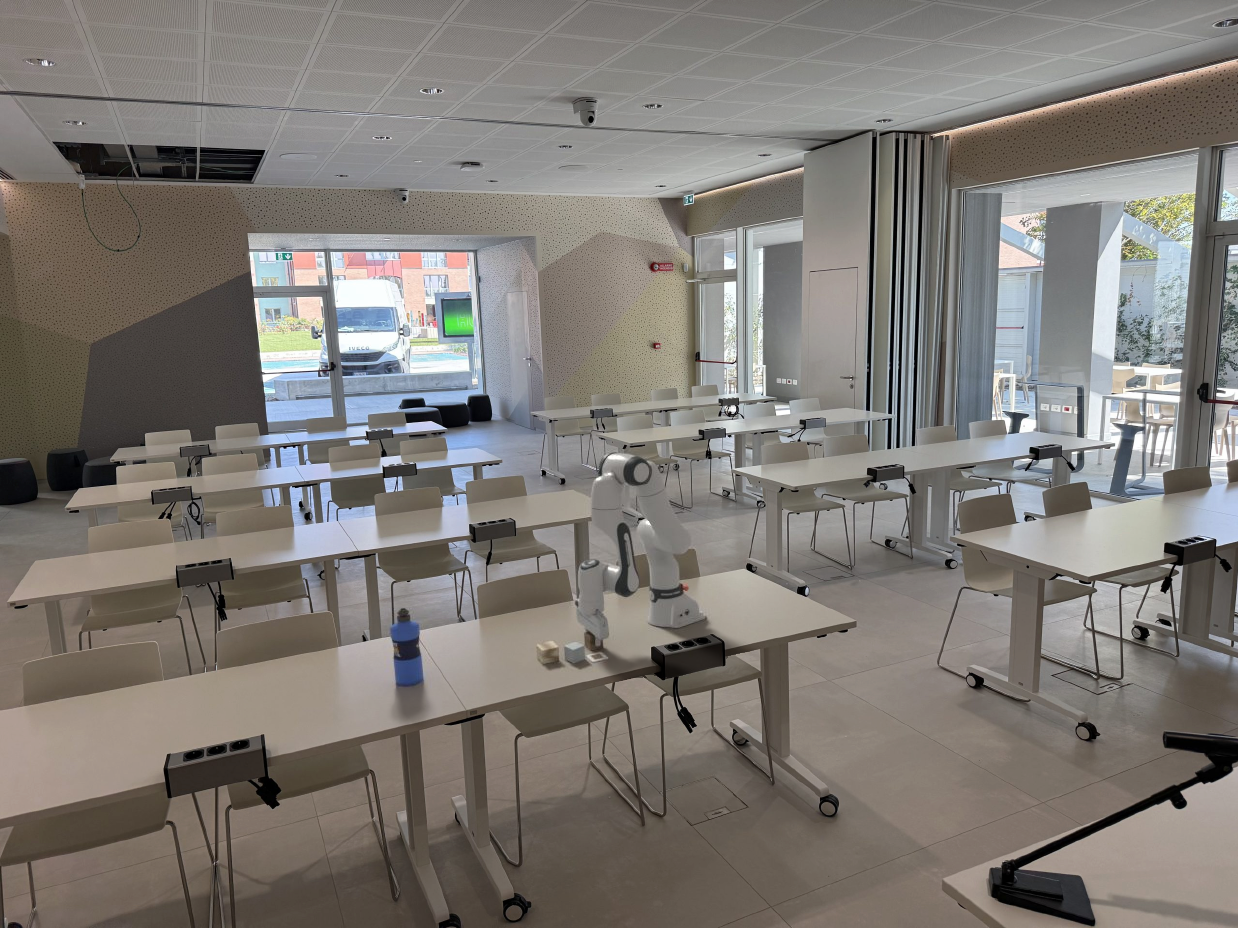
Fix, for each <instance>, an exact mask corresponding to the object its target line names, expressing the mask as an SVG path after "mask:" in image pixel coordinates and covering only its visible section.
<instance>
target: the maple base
mask: <svg viewBox="0 0 1238 928" xmlns="http://www.w3.org/2000/svg"><path fill="white" fill-rule="evenodd" d="M535 646H536V648H535V649H536V658H537V660H538V661H540V662H541V664H543V665H544V664H548V663H552V662H558V661H560V651H559V650H560V648H559V646H558V645H557V644H556V643H555V642H554V641H553V640H550V641H545V642H542V643H537V644H536V645H535Z"/></svg>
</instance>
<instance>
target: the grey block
mask: <svg viewBox="0 0 1238 928" xmlns="http://www.w3.org/2000/svg"><path fill="white" fill-rule="evenodd" d="M585 648H586V647H585V644H583V643H582V644H581V643H579V642H577V641H573V642H570V643H568V644H565V645H563V652H564V660H566V661H568V662H570V663H572V664H576V663H578V662H580V661H583V660H586V653H585V650H586V649H585Z"/></svg>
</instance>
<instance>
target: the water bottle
mask: <svg viewBox="0 0 1238 928" xmlns="http://www.w3.org/2000/svg"><path fill="white" fill-rule="evenodd" d="M396 614H397V615H396V620H397V621H396V623H394V624H392V625H391V626H390V628H389V632H390V634H389V635H390V639H391V642H392V648H393V658H392V659H393V670H394V677H395V678H394V680H395V684H396V685H398V686H400V687H412V686H416V685H418V684H420V683H422V682H423V681H424V670H423V669H424V668H423V659H422V651H421V648H420V635H421V631H420V623H419V622H417V621H414V620H411V614H410V610H408V609H407V608H405V607H402V608H399V610H398V611H397V613H396Z"/></svg>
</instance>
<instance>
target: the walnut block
mask: <svg viewBox="0 0 1238 928" xmlns="http://www.w3.org/2000/svg"><path fill="white" fill-rule="evenodd" d="M583 634H584V635H583V636H584V638H583V639H584V640H583V641H584V647H585V648H587V649H588V650H589V651H591V652H592V651H595V650H599V649H603V648H604V639H602V640H601V641H600V643H601V645H600V646H595V645H594V641H595V635H594V634H592V633H591V632H590V631H589V632H586V631H584V632H583Z"/></svg>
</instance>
